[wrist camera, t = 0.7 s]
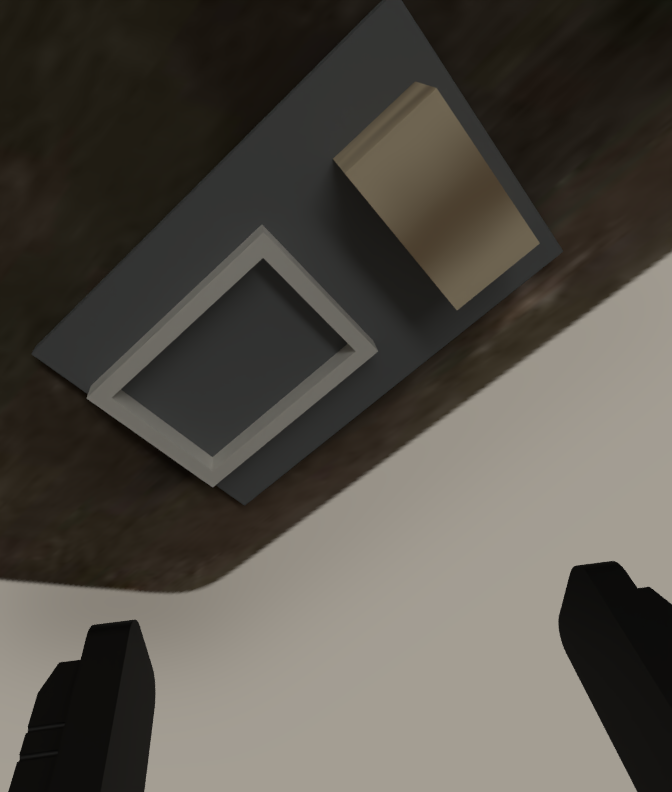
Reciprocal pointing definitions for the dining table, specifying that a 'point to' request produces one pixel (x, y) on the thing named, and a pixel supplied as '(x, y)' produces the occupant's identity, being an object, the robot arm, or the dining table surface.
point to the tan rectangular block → (437, 194)
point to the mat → (311, 246)
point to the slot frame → (184, 314)
